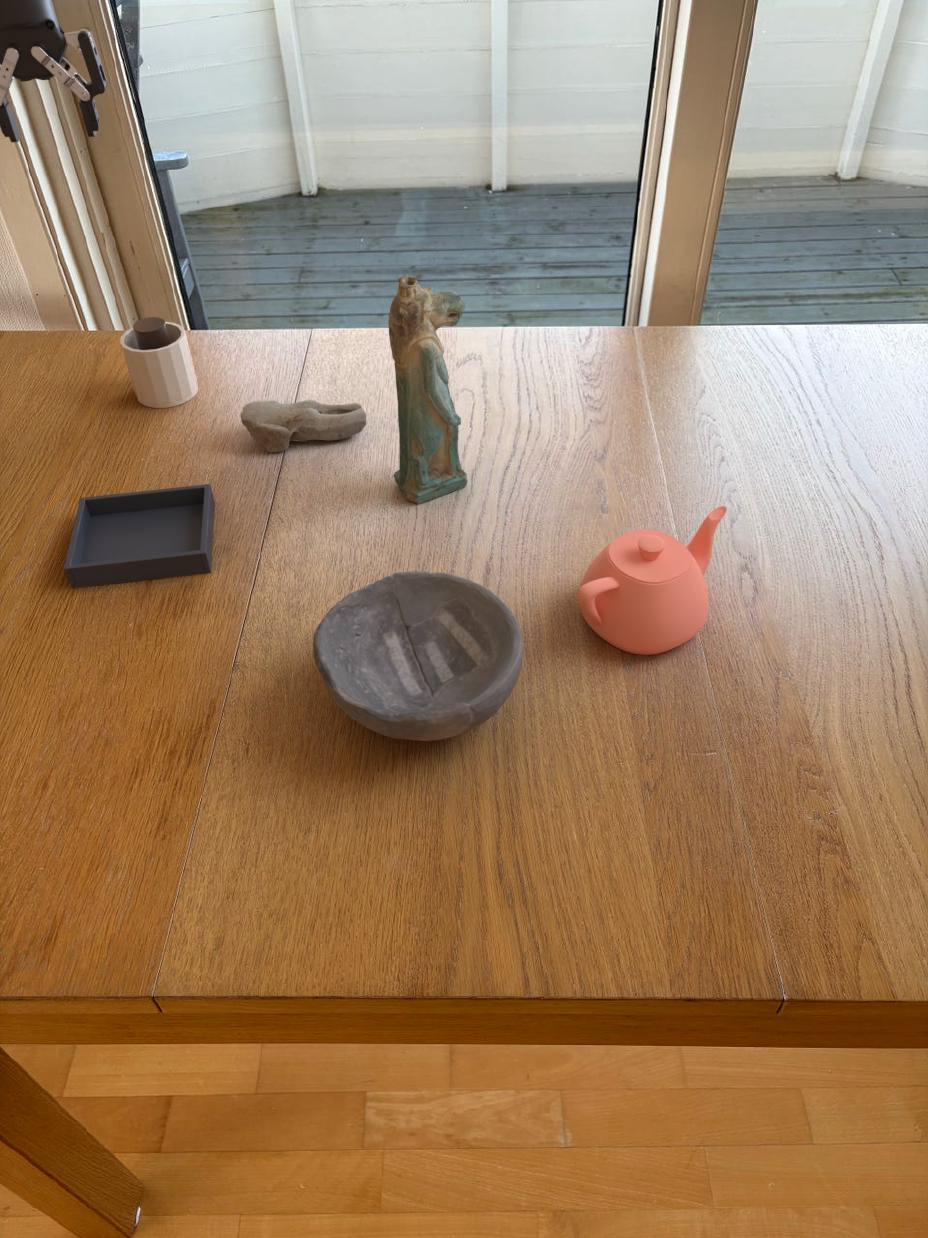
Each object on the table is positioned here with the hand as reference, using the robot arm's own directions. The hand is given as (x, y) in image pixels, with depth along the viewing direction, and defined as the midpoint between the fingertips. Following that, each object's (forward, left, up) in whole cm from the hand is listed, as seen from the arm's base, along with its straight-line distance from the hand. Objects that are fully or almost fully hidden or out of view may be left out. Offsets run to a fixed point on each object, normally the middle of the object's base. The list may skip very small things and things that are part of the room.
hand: (54, 137), depth 108 cm
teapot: (+56, -58, -30) cm, 86 cm away
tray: (+6, -38, -30) cm, 49 cm away
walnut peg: (+6, -6, -30) cm, 31 cm away
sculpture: (+24, -20, -30) cm, 44 cm away
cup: (+6, -6, -30) cm, 31 cm away
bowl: (+33, -65, -30) cm, 79 cm away
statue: (+38, -33, -30) cm, 59 cm away
